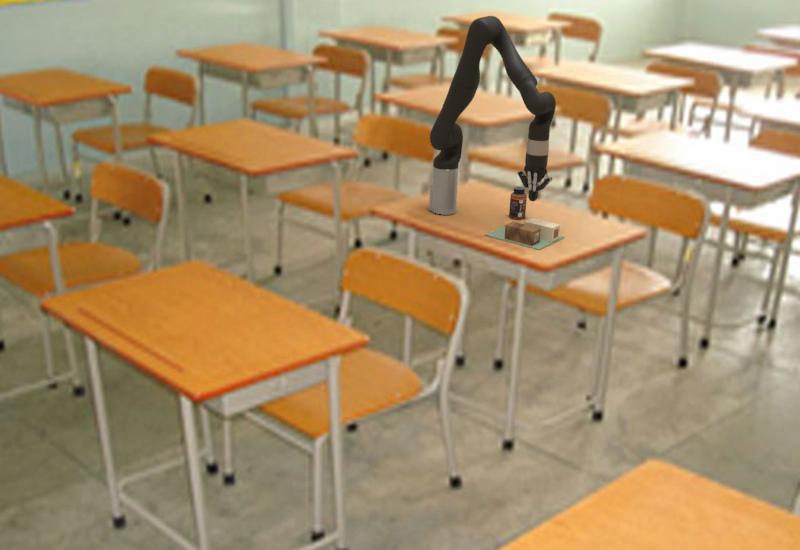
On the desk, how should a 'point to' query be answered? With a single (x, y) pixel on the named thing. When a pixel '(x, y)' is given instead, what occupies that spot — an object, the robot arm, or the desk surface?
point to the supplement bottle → (518, 203)
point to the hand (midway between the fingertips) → (532, 200)
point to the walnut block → (522, 233)
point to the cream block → (545, 229)
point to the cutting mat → (500, 235)
